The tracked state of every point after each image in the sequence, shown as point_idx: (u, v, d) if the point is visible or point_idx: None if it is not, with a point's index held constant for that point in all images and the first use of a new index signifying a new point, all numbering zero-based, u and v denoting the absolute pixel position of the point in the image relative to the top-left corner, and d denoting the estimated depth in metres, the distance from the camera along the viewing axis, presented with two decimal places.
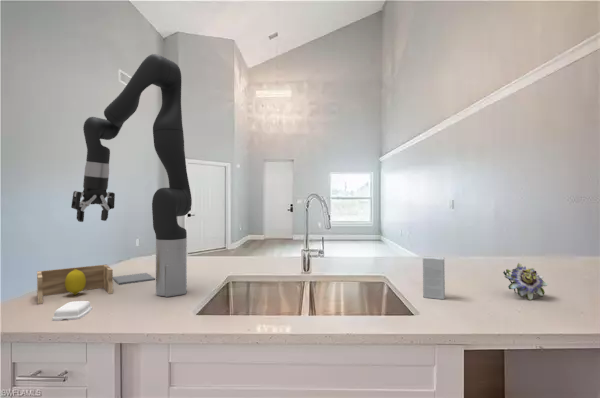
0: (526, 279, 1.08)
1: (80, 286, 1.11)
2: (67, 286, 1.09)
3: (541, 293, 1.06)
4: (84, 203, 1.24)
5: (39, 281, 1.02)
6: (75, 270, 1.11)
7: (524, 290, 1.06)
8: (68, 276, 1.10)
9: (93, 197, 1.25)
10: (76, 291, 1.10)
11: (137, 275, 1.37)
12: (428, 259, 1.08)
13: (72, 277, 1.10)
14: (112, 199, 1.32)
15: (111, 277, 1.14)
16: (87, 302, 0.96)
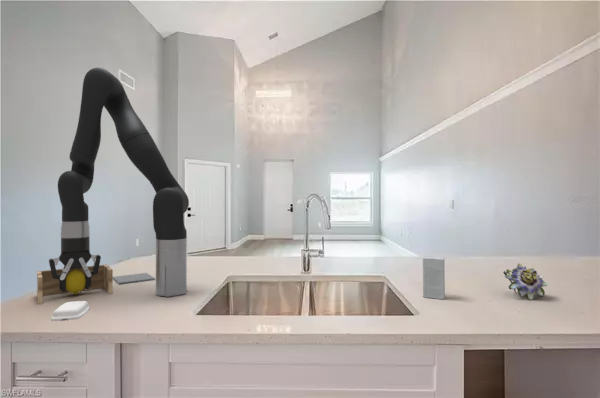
0: (526, 279, 1.08)
1: (80, 286, 1.11)
2: (67, 286, 1.09)
3: (541, 293, 1.06)
4: (63, 270, 1.09)
5: (39, 281, 1.02)
6: (75, 270, 1.11)
7: (524, 290, 1.06)
8: (68, 276, 1.10)
9: (69, 261, 1.09)
10: (76, 291, 1.10)
11: (137, 275, 1.37)
12: (428, 259, 1.08)
13: (73, 277, 1.10)
14: (96, 263, 1.14)
15: (111, 277, 1.14)
16: (85, 302, 0.96)
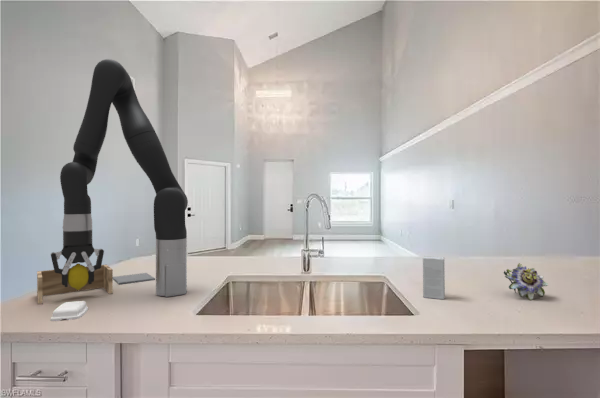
0: (526, 279, 1.08)
1: (83, 281, 1.08)
2: (69, 281, 1.06)
3: (541, 293, 1.06)
4: (65, 265, 1.06)
5: (39, 281, 1.02)
6: (78, 264, 1.08)
7: (524, 290, 1.06)
8: (70, 270, 1.07)
9: (71, 255, 1.06)
10: (79, 286, 1.07)
11: (137, 275, 1.37)
12: (428, 259, 1.08)
13: (75, 271, 1.07)
14: (99, 257, 1.11)
15: (111, 277, 1.14)
16: (84, 302, 0.96)
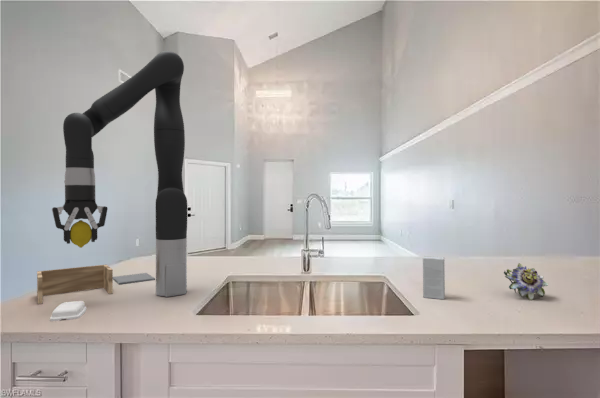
0: (527, 279, 1.08)
1: (86, 238, 1.03)
2: (72, 237, 1.02)
3: (542, 293, 1.06)
4: (67, 220, 1.02)
5: (39, 281, 1.02)
6: (80, 221, 1.04)
7: (525, 290, 1.06)
8: (73, 226, 1.02)
9: (74, 210, 1.02)
10: (82, 243, 1.03)
11: (137, 275, 1.37)
12: (428, 259, 1.08)
13: (78, 227, 1.02)
14: (103, 214, 1.07)
15: (111, 277, 1.14)
16: (82, 302, 0.96)
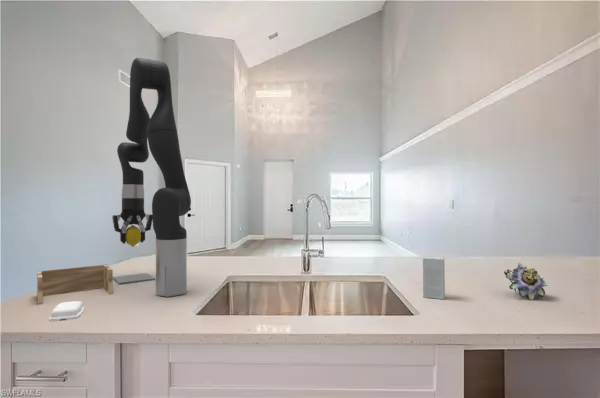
0: (527, 279, 1.08)
1: (137, 239, 1.32)
2: (127, 238, 1.31)
3: (542, 293, 1.06)
4: (123, 225, 1.31)
5: (39, 281, 1.02)
6: (133, 226, 1.33)
7: (525, 290, 1.06)
8: (127, 230, 1.31)
9: (129, 218, 1.31)
10: (134, 243, 1.32)
11: (137, 275, 1.37)
12: (428, 259, 1.08)
13: (131, 231, 1.31)
14: (149, 221, 1.36)
15: (111, 277, 1.14)
16: (80, 302, 0.96)
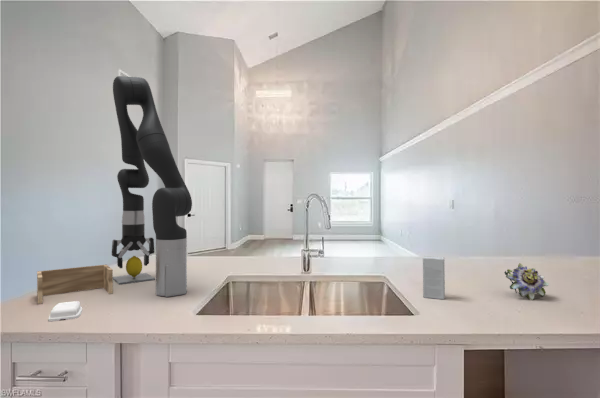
0: (527, 279, 1.08)
1: (139, 270, 1.33)
2: (128, 270, 1.31)
3: (542, 293, 1.06)
4: (122, 250, 1.31)
5: (39, 281, 1.02)
6: (134, 256, 1.33)
7: (525, 290, 1.06)
8: (129, 261, 1.32)
9: (129, 244, 1.31)
10: (135, 274, 1.32)
11: (137, 275, 1.37)
12: (428, 259, 1.08)
13: (133, 262, 1.32)
14: (151, 244, 1.36)
15: (111, 277, 1.14)
16: (78, 302, 0.96)
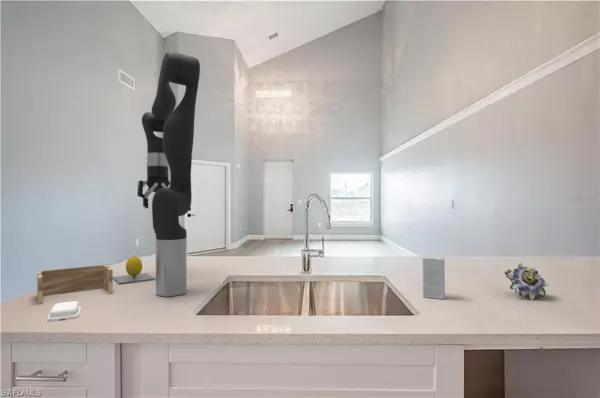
0: (528, 279, 1.08)
1: (139, 270, 1.33)
2: (128, 270, 1.31)
3: (542, 293, 1.06)
4: (147, 191, 1.35)
5: (39, 281, 1.02)
6: (134, 256, 1.33)
7: (526, 290, 1.06)
8: (129, 261, 1.32)
9: (154, 184, 1.35)
10: (135, 274, 1.32)
11: (137, 275, 1.37)
12: (428, 259, 1.08)
13: (133, 262, 1.32)
14: None
15: (111, 277, 1.14)
16: (77, 302, 0.96)
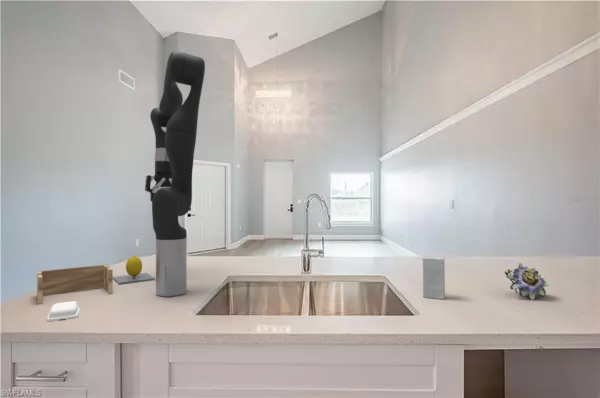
0: (528, 279, 1.08)
1: (139, 270, 1.33)
2: (128, 270, 1.31)
3: (543, 293, 1.06)
4: (155, 186, 1.36)
5: (39, 281, 1.02)
6: (134, 256, 1.33)
7: (526, 290, 1.06)
8: (129, 261, 1.32)
9: (162, 180, 1.36)
10: (135, 274, 1.32)
11: (137, 275, 1.37)
12: (428, 259, 1.08)
13: (133, 262, 1.32)
14: None
15: (111, 277, 1.14)
16: (76, 302, 0.96)
